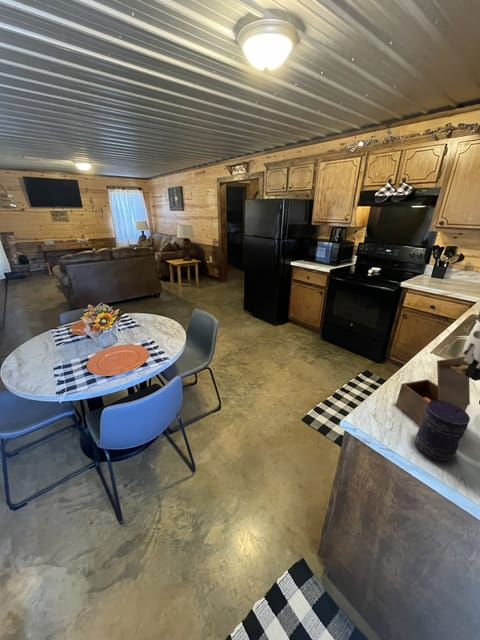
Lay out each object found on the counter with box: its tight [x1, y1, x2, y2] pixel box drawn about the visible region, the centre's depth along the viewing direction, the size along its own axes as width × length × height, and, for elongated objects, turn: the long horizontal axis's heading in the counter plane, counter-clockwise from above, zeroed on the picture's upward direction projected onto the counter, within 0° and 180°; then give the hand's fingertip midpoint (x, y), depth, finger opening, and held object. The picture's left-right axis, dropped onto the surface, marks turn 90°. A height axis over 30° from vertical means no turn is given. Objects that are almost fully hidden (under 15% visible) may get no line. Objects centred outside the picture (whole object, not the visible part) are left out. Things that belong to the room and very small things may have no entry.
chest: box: [395, 378, 469, 427], centre depth 91 cm, size 15×12×10 cm
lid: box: [436, 355, 471, 407], centre depth 80 cm, size 16×12×5 cm
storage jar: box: [413, 400, 471, 465], centre depth 77 cm, size 10×10×15 cm
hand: (472, 377), depth 76 cm, fingers closed
